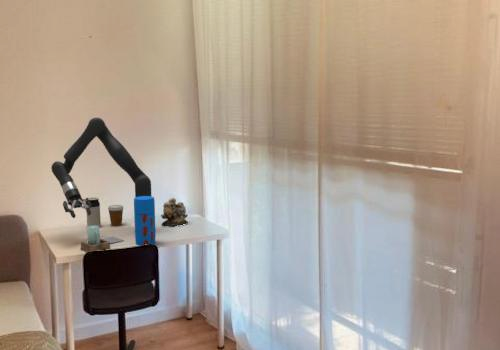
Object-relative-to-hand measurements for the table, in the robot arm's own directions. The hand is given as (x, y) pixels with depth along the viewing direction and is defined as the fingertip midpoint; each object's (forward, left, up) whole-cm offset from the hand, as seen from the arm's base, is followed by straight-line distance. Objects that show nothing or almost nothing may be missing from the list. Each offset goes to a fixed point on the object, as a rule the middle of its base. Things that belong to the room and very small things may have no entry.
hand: (82, 215), depth 257 cm
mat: (-13, +4, -16) cm, 21 cm away
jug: (0, +12, -16) cm, 20 cm away
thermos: (-25, +21, -16) cm, 37 cm away
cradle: (0, +13, -16) cm, 20 cm away
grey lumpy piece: (-61, -1, -16) cm, 63 cm away
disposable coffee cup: (-35, -26, -16) cm, 46 cm away
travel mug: (-23, -32, -16) cm, 42 cm away
